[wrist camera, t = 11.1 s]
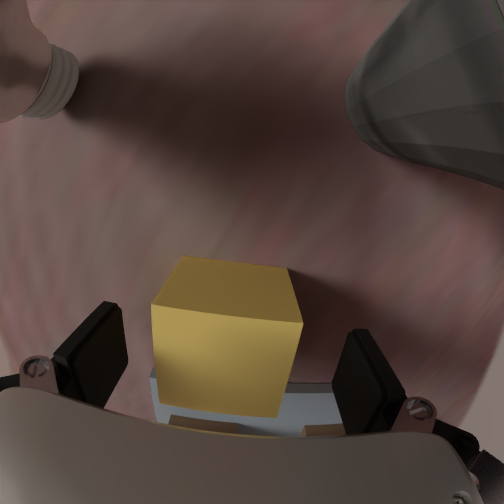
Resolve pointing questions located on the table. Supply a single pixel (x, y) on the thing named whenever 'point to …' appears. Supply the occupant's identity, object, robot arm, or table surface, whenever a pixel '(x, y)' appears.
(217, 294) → the cube
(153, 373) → the board
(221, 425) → the block
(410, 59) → the beverage cup
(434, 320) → the table surface
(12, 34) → the light bulb
